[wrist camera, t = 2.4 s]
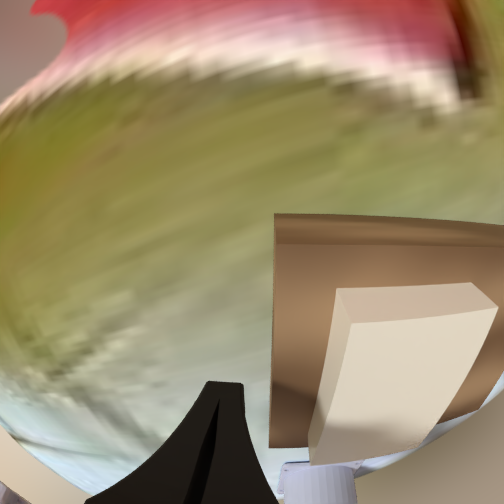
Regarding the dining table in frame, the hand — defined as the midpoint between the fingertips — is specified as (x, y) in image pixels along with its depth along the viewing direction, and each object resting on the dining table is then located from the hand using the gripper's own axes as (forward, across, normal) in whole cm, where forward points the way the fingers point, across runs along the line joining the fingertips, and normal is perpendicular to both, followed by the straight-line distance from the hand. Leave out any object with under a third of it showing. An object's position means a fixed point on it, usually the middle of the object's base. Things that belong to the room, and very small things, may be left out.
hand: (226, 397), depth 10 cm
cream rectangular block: (+1, -7, 0) cm, 7 cm away
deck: (+5, -9, 0) cm, 11 cm away
